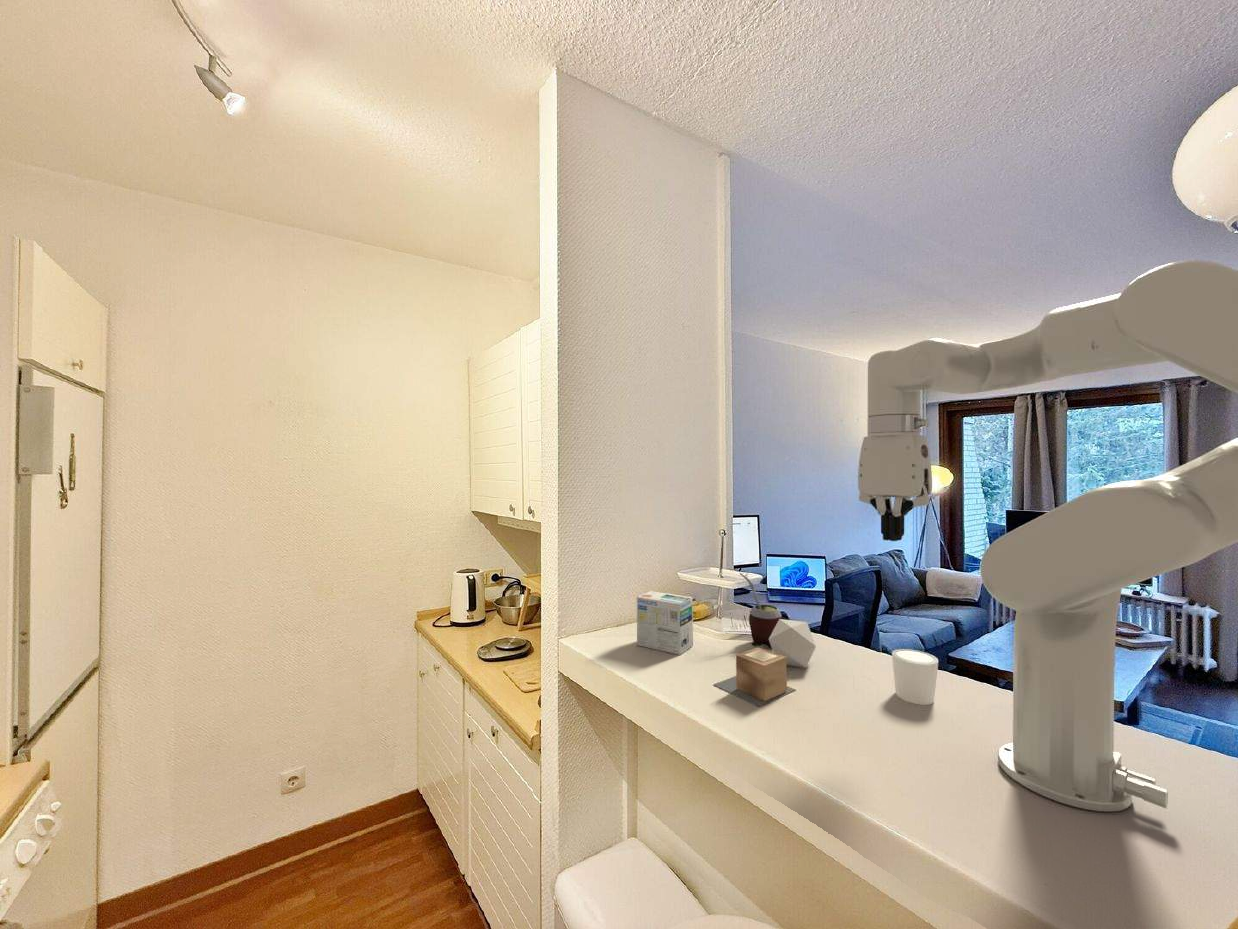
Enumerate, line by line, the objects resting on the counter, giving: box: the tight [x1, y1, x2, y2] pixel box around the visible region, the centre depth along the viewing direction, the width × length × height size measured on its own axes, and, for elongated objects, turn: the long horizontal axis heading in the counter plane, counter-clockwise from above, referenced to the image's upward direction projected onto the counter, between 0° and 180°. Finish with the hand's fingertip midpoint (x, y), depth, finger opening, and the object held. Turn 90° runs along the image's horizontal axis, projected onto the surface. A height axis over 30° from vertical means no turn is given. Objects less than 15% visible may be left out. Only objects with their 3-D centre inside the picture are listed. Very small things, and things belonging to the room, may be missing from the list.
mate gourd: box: [739, 572, 783, 650], centre depth 111 cm, size 8×8×15 cm
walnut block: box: [735, 646, 788, 701], centre depth 88 cm, size 6×6×6 cm
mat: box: [713, 675, 796, 708], centre depth 89 cm, size 10×10×1 cm
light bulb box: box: [636, 590, 694, 656], centre depth 109 cm, size 11×7×11 cm, turn 58°
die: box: [769, 618, 817, 669], centre depth 100 cm, size 8×9×10 cm
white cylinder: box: [891, 648, 939, 706], centre depth 86 cm, size 7×7×7 cm
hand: (892, 539), depth 83 cm, fingers closed
